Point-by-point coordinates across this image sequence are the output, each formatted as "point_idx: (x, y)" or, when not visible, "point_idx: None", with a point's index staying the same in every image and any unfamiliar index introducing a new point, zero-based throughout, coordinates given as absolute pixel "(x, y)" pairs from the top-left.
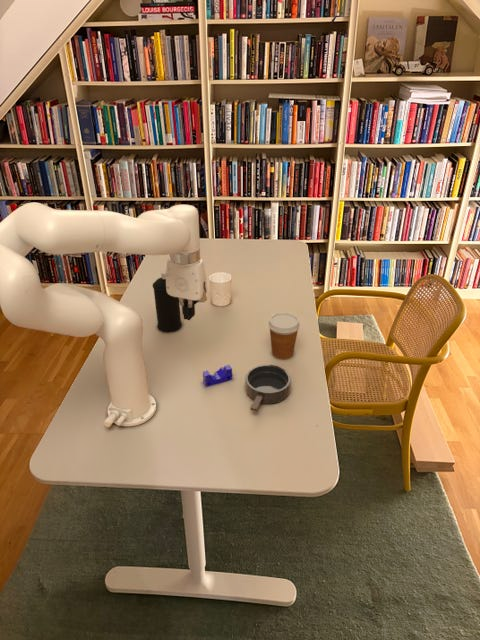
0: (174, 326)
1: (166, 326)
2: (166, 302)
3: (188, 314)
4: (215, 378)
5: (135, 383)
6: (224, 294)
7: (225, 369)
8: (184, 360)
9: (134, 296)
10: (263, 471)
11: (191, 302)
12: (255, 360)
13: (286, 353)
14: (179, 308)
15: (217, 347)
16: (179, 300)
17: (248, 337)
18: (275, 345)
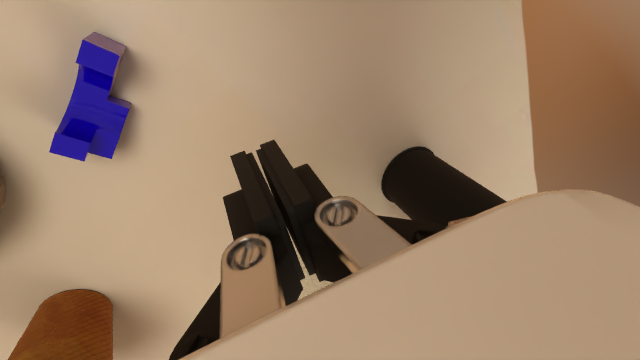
0: (394, 177)
1: (411, 162)
2: (462, 210)
3: (240, 181)
4: (85, 81)
5: None
6: None
7: (74, 134)
8: (279, 98)
9: (524, 189)
10: None
11: (230, 303)
12: (106, 243)
13: (28, 326)
14: None
15: None
16: (382, 226)
17: (215, 282)
18: (53, 328)
